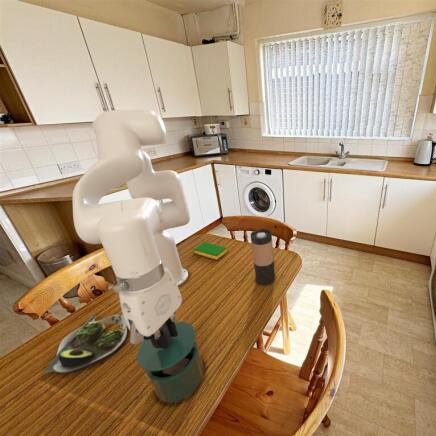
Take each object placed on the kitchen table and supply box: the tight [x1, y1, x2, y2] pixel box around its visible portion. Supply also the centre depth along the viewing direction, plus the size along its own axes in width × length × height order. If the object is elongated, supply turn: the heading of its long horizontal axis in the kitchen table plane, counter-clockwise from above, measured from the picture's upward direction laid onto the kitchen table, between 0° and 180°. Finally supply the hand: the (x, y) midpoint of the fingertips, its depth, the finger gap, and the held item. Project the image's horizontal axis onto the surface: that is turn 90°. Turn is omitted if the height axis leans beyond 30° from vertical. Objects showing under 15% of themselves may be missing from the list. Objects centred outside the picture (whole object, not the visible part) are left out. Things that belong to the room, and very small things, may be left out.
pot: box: [145, 340, 205, 404], centre depth 57 cm, size 11×11×8 cm
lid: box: [136, 321, 197, 371], centre depth 53 cm, size 12×12×7 cm
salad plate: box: [43, 314, 129, 375], centre depth 69 cm, size 19×18×5 cm
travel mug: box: [250, 228, 276, 285], centre depth 89 cm, size 8×8×20 cm
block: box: [162, 358, 191, 378], centre depth 58 cm, size 4×4×4 cm
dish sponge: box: [193, 241, 228, 261], centre depth 111 cm, size 7×14×2 cm, turn 64°
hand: (166, 340), depth 53 cm, fingers closed on lid, 2 cm apart
